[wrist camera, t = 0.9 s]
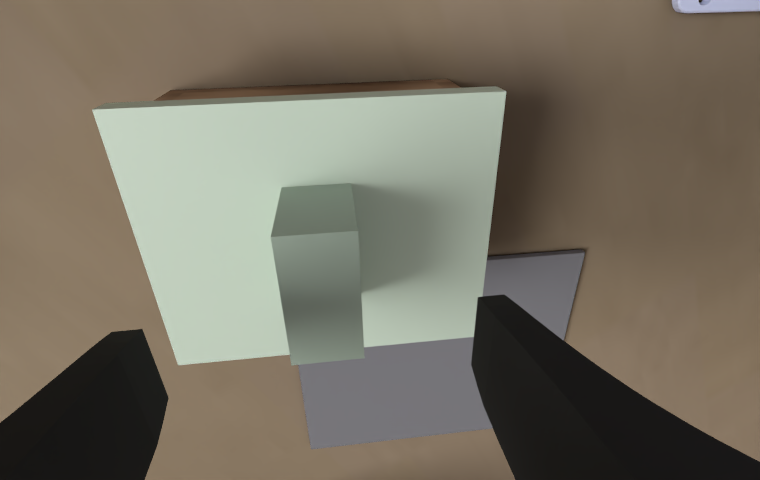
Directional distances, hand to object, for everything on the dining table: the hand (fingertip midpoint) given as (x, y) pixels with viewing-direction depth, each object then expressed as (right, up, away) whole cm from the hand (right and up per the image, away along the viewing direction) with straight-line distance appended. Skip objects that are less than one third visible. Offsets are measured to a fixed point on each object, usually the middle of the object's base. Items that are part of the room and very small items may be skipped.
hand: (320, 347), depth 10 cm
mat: (+4, -4, +13) cm, 15 cm away
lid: (-1, +3, +5) cm, 5 cm away
